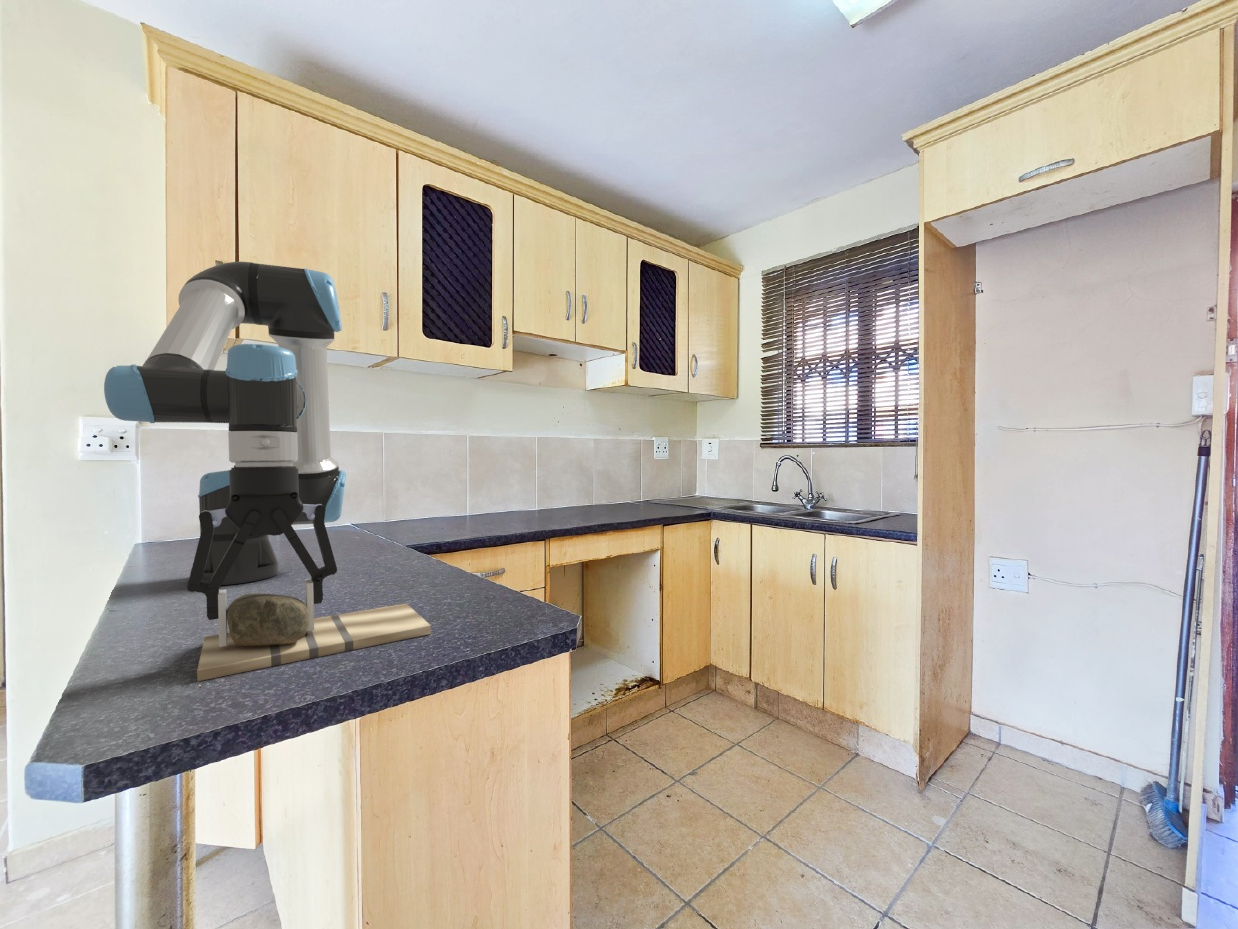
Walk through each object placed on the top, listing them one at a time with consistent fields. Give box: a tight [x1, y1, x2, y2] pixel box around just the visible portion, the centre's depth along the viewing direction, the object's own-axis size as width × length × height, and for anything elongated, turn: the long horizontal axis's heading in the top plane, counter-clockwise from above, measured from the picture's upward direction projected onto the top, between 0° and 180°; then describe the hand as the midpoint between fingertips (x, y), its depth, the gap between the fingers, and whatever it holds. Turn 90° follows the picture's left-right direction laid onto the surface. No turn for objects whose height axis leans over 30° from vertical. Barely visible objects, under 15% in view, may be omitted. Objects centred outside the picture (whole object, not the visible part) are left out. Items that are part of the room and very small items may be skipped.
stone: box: [226, 592, 309, 646], centre depth 70 cm, size 9×14×10 cm, turn 37°
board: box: [196, 603, 432, 682], centre depth 73 cm, size 14×26×1 cm, turn 126°
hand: (268, 635), depth 69 cm, fingers closed on stone, 9 cm apart
